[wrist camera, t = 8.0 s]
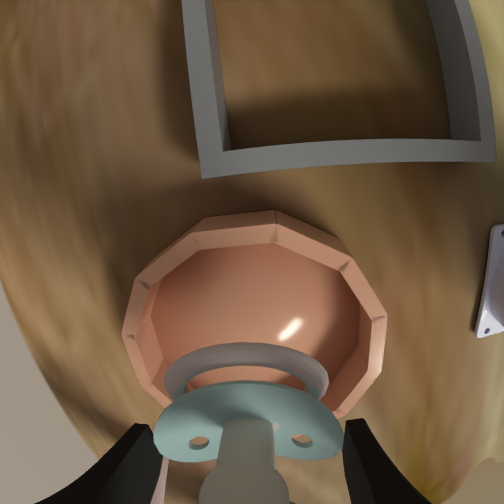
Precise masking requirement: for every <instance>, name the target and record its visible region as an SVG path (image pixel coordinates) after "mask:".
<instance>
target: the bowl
mask: <svg viewBox="0 0 504 504" xmlns="http://www.w3.org/2000/svg"><path fill="white" fill-rule="evenodd" d="M386 326H387V313H386V312H385V310H384V308H383V307H382V305H381V303H380V302H379V300H378V298H377V296H376V295H375V293H374V292H373V290H372V288H371V287H370V285H369V283H368V282H367V280H366V278H365V277H364V275H363V274H362V272H361V270H360V269H359V267H358V266H357V264H356V262H355V261H354V259H353V258H352V256H351V255H350V253H349V252H348V251H347V249H346V248H345V246H344V245H343V243H342V242H341V241H340V239H339V238H337V237H335V236H333V235H331V234H328V233H326V232H324V231H322V230H320V229H318V228H315V227H313V226H311V225H309V224H307V223H304V222H302V221H300V220H298V219H295V218H293V217H291V216H289V215H286V214H284V213H282V212H280V211H277V210H276V211H275V210H268V211H259V212H249V213H240V214H231V215H222V216H214V217H205V218H204V219H202V220H201V221H200V222H199V223H197V224H196V225H195V226H193V227H192V228H191V229H190V230H188V231H187V232H186V233H184V234H183V235H182V236H181V237H179V238H178V239H177V240H176V241H174V242H173V243H172V244H171V245H169V246H168V247H167V248H166V249H164V250H163V251H162V252H161V253H159V254H158V255H157V256H156V257H155V258H154V259H153V260H152V261H151V262H150V263H149V264H148V265H147V266H146V267H145V268H144V269H143V270H142V271H141V272H140V273H139V274H138V275H137V276H136V277H135V280H134V284H133V288H132V291H131V295H130V299H129V303H128V307H127V311H126V315H125V319H124V324H123V328H122V332H121V335H122V338H123V341H124V344H125V347H126V349H127V352H128V355H129V357H130V360H131V363H132V365H133V368H134V370H135V373H136V375H137V378H138V380H139V383H140V385H141V386H142V387H143V388H144V389H145V390H146V391H147V392H148V393H149V394H150V395H151V396H152V397H154V398H155V399H156V400H157V401H158V402H159V403H160V404H161V405H163V406H164V407H165V408H166V407H167V406H168V405H170V404H171V403H172V402H173V400H172V399H171V398H170V396H169V395H168V393H167V391H166V389H165V387H164V375H165V373H166V371H167V369H168V367H169V366H170V365H171V364H173V363H174V362H175V361H176V360H177V359H178V358H180V357H181V356H184V355H186V354H188V353H190V352H192V351H194V350H197V349H200V348H204V347H208V346H212V345H216V344H226V343H236V342H251V343H267V344H273V345H279V346H286V347H288V348H291V349H294V350H297V351H300V352H303V353H305V354H307V355H308V356H310V357H312V358H313V359H315V360H317V361H318V362H319V363H320V364H321V365H322V366H323V368H324V369H325V370H326V371H327V374H328V379H329V384H328V387H327V390H326V393H325V395H324V396H323V397H322V398H321V399H320V400H319V401H321V402H322V403H324V404H325V405H326V406H327V407H328V408H329V409H330V410H331V411H332V413H333V414H334V415H335V417H336V418H337V419H338V418H340V417H342V416H344V415H345V414H347V413H348V412H349V411H350V409H351V408H352V407H353V406H354V405H355V404H356V402H357V401H358V400H359V399H360V398H361V396H362V395H363V394H364V393H365V392H366V390H367V389H368V388H369V387H370V385H371V384H372V383H373V382H374V380H375V379H376V378H377V376H378V375H379V374H380V373H381V369H382V361H383V353H384V345H385V336H386ZM237 380H255V381H266V382H272V383H278V384H282V385H286V386H289V387H293V388H295V389H298V390H301V391H303V390H304V387H305V384H304V383H303V382H302V381H301V380H300V379H299V378H297V377H295V376H294V375H292V374H290V373H287V372H284V371H280V370H277V369H273V368H267V367H261V366H231V367H222V368H218V369H213V370H209V371H207V372H204V373H202V374H199V375H197V376H195V377H194V378H192V379H191V380H190V381H188V383H187V386H188V388H189V390H190V391H192V390H195V389H197V388H200V387H203V386H207V385H211V384H215V383H220V382H226V381H237ZM301 435H302V434H296V435H294V436H293V437H292V438H296V437H298V436H301Z"/></svg>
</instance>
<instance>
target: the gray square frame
mask: <svg viewBox="0 0 504 504" xmlns="http://www.w3.org/2000/svg"><path fill="white" fill-rule="evenodd" d="M425 1H426V5H427V8H428V12H429V15H430V19H431V23H432V26H433V30H434V34H435V39H436V43H437V47H438V52H439V57H440V62H441V67H442V73H443V78H444V84H445V91H446V98H447V106H448V114H449V124H450V135H451V140H444V139H362V140H339V141H322V142H307V143H295V144H284V145H274V146H264V147H255V148H247V149H239V150H231V142H230V134H229V126H228V118H227V110H226V102H225V95H224V87H223V79H222V70H221V62H220V54H219V46H218V38H217V30H216V21H215V13H214V5H213V0H182V12H183V23H184V34H185V44H186V54H187V64H188V73H189V82H190V91H191V99H192V107H193V116H194V124H195V131H196V139H197V147H198V154H199V161H200V169H201V176H202V179H206V178H213V177H221V176H228V175H236V174H245V173H253V172H262V171H272V170H281V169H292V168H303V167H316V166H329V165H345V164H363V163H386V162H488V163H496V147H495V132H494V121H493V111H492V103H491V96H490V89H489V83H488V77H487V72H486V66H485V61H484V57H483V52H482V48H481V44H480V40H479V36H478V32H477V28H476V25H475V21H474V18H473V14H472V11H471V8H470V5H469V2H468V0H425Z"/></svg>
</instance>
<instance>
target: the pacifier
mask: <svg viewBox="0 0 504 504" xmlns="http://www.w3.org/2000/svg"><path fill="white" fill-rule="evenodd" d="M231 366H261V367H267V368H273V369H277V370H280V371H284V372H287V373H290V374H292V375H294V376H295V377H297V378H299V379H300V380H301V381H302V382H303V383H304V384H305V387H304V390H303V391H301V390H298V389H295V388H293V387H289V386H286V385H282V384H278V383H272V382H266V381H255V380H237V381H226V382H220V383H215V384H211V385H207V386H203V387H200V388H197V389H195V390H192V391H190V390H189V388H188V386H187V383H188V381H190V380H191V379H192V378H194V377H195V376H197V375H199V374H202V373H204V372H207V371H209V370H213V369H218V368H222V367H231ZM328 384H329V379H328V374H327V371H326V370H325V369H324V368H323V366H322V365H321V364H320V363H319V362H318V361H317V360H315V359H313V358H312V357H310V356H308V355H307V354H305V353H303V352H300V351H297V350H294V349H291V348H288V347H286V346H279V345H273V344H267V343H251V342H236V343H226V344H216V345H212V346H208V347H204V348H200V349H197V350H194V351H192V352H190V353H188V354H186V355H184V356H181V357H180V358H178V359H177V360H176V361H175V362H174V363H173V364H171V365H170V366H169V367H168V369H167V371H166V373H165V375H164V387H165V389H166V391H167V393H168V395H169V396H170V398H171V399H172V400H173V402H172V403H171V404H170V405H168V406H167V407H166V408H165V409H164V411H163V412H162V414H161V415H160V417H159V419H158V422H157V424H156V427H155V430H154V436H153V438H154V444H155V445H156V447H157V449H158V451H159V452H160V454H162V455H163V456H165V457H166V458H168V459H171V460H175V461H179V462H202V461H208V460H213V459H217V467H215V468H214V469H213V470H212V471H211V472H210V473H209V474H208V475H207V477H206V478H205V480H204V481H203V483H202V486H201V488H200V492H199V497H198V504H289V491H288V488H287V485H286V483H285V481H284V479H283V477H282V476H281V475H280V473H279V472H278V471H277V470H276V469H275V454H276V455H279V456H282V457H288V458H293V459H300V460H323V459H326V458H331V457H333V456H335V455H337V454H338V453H339V452H340V451H341V449H342V448H343V441H344V435H343V431H342V428H341V426H340V424H339V421H338V420H337V418H336V417H335V415H334V414H333V413H332V411H331V410H330V409H329V408H328V407H327V406H326V405H325V404H324V403H322V402H321V401H319V400H320V399H321V398H322V397H323V396H324V395H325V393H326V390H327V387H328ZM296 434H302V435H305V436H307V437H309V438H310V439H311V440H312V441H310V442H308V443H301V442H298V441H296V440H294V439H293V438H292V437H293V436H294V435H296ZM198 436H204V437H206V438H208V439H209V441H208V442H206V443H205V444H202V445H194V444H191V443H190V440H191V439H193V438H195V437H198Z"/></svg>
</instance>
